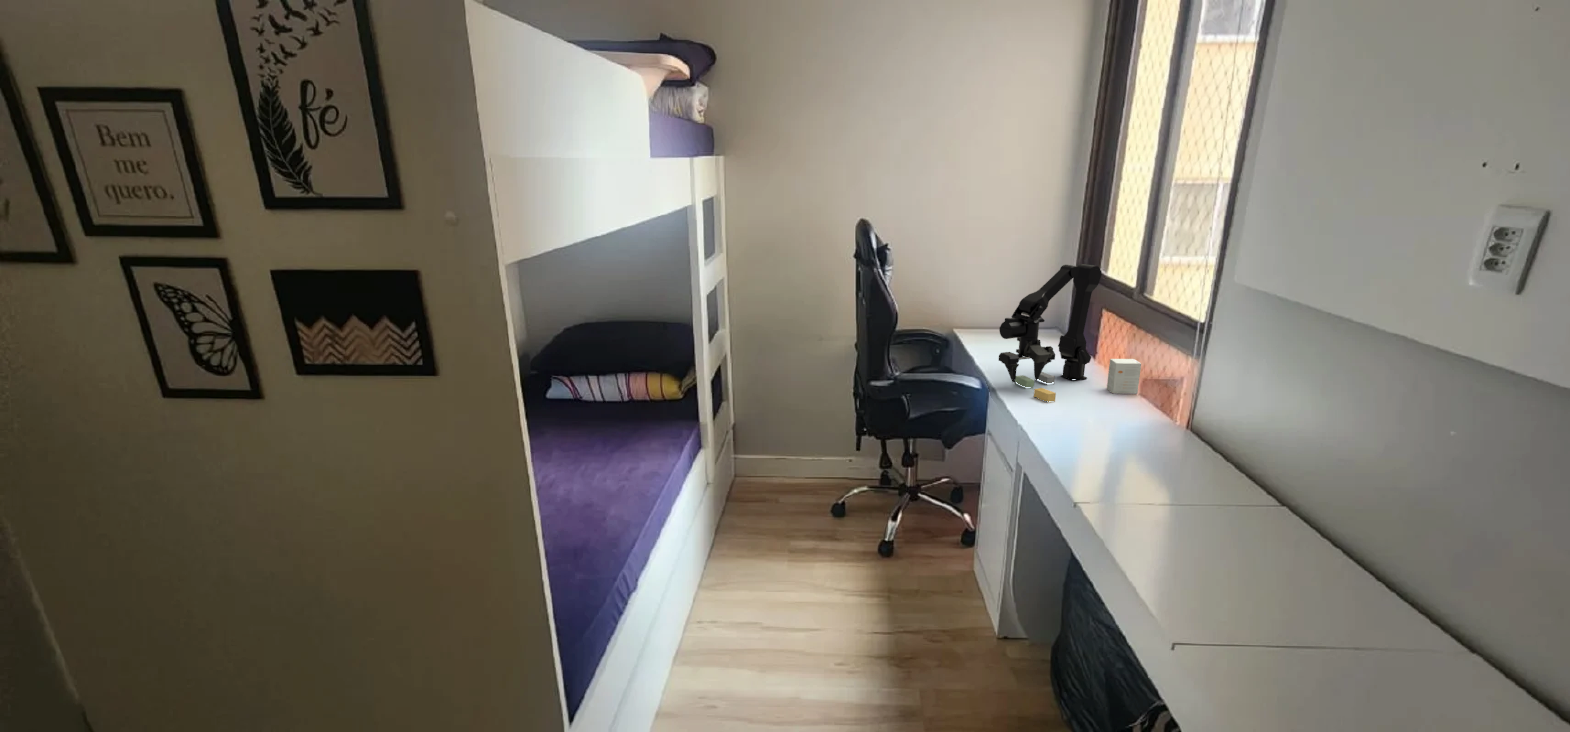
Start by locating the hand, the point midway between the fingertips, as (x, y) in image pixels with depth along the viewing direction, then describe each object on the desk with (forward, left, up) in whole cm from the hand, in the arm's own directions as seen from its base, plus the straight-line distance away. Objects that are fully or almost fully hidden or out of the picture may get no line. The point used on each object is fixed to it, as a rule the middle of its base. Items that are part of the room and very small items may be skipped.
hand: (1024, 380), depth 229 cm
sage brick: (0, 0, -2) cm, 2 cm away
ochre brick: (+3, +14, -2) cm, 14 cm away
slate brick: (-9, -1, -2) cm, 9 cm away
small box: (-26, +16, -2) cm, 31 cm away
